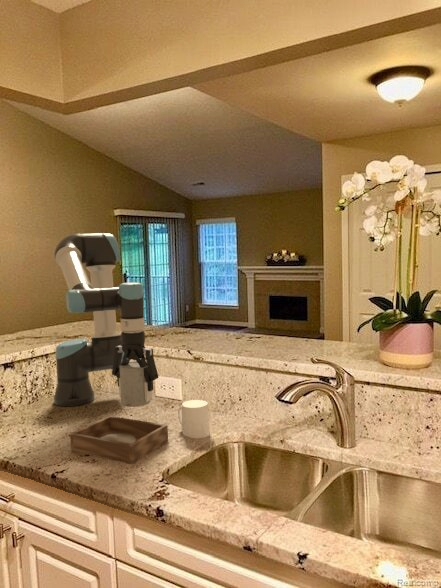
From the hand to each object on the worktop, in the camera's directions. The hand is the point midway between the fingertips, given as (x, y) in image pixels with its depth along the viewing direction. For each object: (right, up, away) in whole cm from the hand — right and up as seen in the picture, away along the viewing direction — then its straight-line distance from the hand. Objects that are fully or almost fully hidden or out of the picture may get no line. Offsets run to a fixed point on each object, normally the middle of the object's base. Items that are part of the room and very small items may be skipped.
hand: (135, 398), depth 161 cm
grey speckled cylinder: (0, -1, 0) cm, 1 cm away
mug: (+19, -9, -7) cm, 22 cm away
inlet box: (-2, -10, -17) cm, 20 cm away
